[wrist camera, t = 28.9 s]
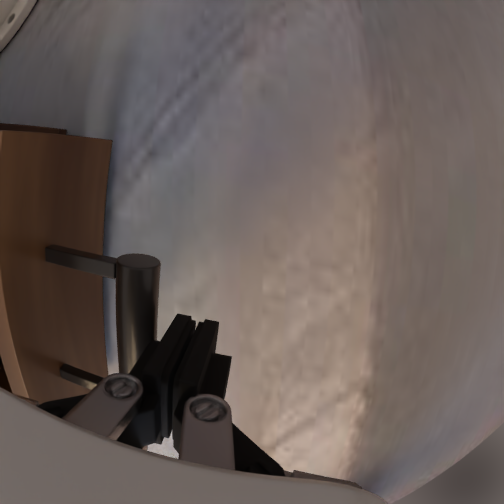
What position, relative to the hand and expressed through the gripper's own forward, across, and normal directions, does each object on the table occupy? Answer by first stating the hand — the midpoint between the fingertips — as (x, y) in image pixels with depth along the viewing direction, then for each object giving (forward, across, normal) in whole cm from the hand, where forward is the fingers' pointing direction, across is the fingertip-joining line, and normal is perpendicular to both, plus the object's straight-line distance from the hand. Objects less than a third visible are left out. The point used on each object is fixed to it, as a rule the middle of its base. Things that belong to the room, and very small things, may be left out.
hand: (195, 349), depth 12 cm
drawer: (+4, +11, 0) cm, 12 cm away
